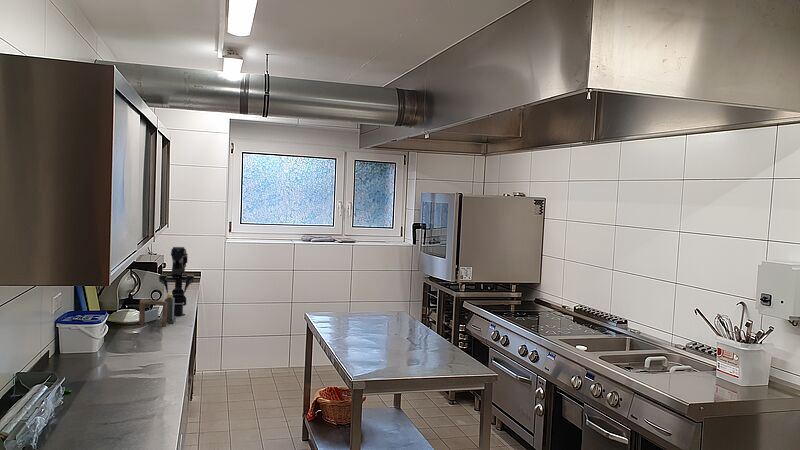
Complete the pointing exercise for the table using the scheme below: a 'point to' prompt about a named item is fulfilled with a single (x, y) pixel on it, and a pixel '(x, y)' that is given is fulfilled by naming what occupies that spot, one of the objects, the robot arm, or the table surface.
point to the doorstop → (170, 309)
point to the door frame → (142, 303)
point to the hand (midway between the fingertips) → (176, 292)
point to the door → (151, 315)
